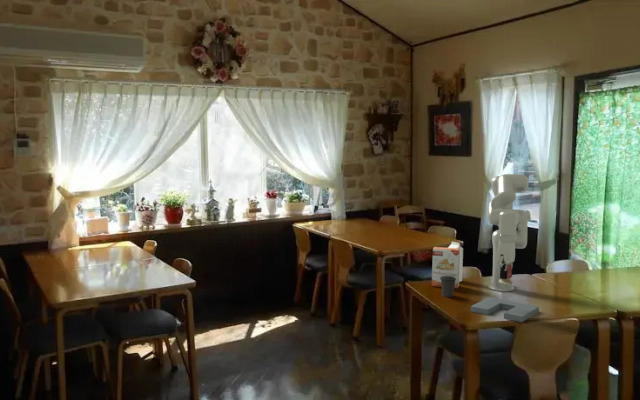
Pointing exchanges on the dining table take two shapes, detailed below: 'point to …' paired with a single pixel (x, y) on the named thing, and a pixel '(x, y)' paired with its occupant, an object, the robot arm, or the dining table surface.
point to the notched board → (514, 308)
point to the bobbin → (507, 281)
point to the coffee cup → (447, 285)
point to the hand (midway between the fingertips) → (505, 277)
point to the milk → (457, 245)
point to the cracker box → (445, 265)
